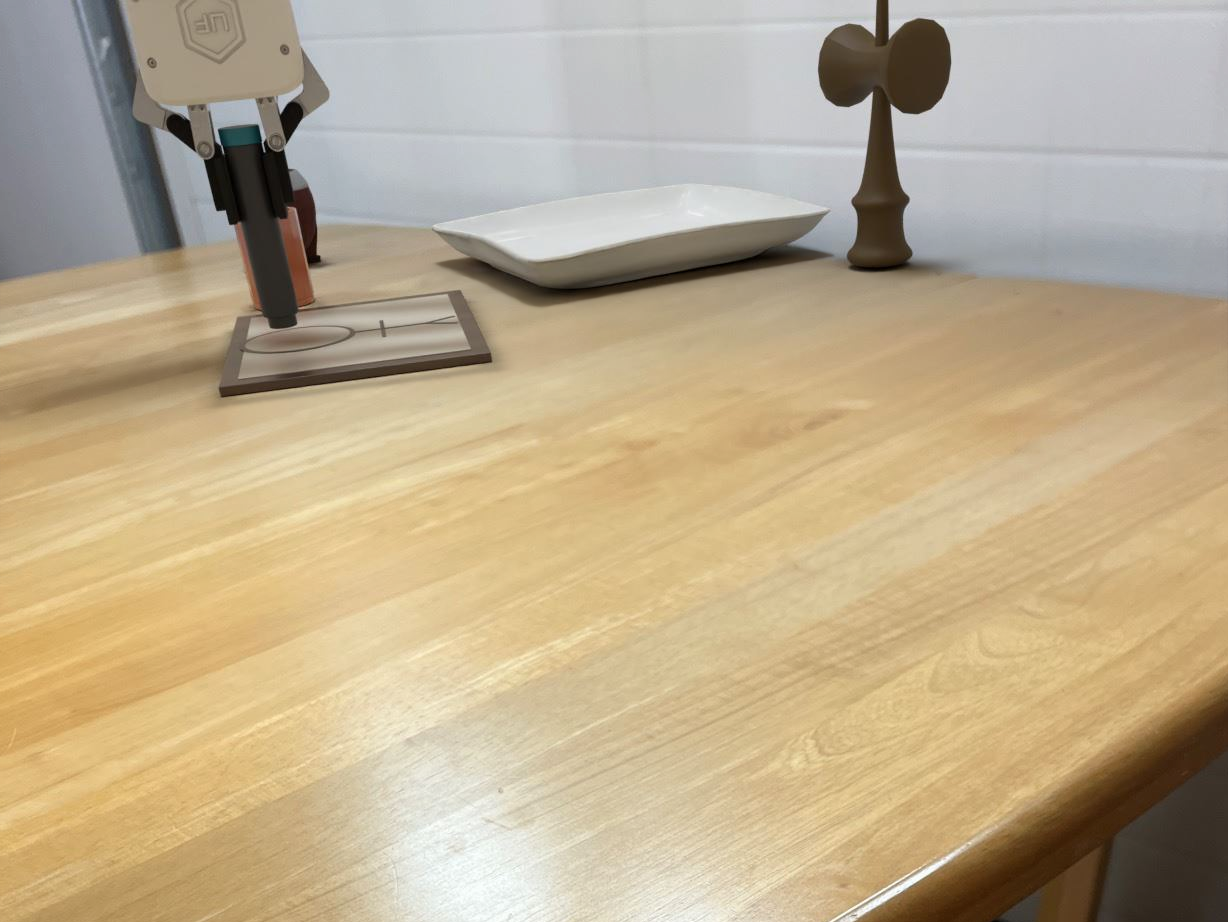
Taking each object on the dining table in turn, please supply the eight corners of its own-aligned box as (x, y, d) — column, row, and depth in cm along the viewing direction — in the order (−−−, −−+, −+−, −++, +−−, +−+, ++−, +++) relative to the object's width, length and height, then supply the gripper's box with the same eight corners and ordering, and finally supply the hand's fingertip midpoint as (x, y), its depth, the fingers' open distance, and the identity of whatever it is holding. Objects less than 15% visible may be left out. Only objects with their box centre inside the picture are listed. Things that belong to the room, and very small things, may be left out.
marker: (279, 331, 95) (232, 129, 88) (257, 328, 96) (209, 129, 89) (310, 323, 97) (266, 123, 89) (287, 320, 98) (243, 124, 91)
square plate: (694, 220, 134) (691, 176, 131) (836, 255, 113) (836, 203, 111) (433, 262, 125) (426, 216, 123) (536, 307, 104) (529, 253, 102)
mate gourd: (263, 276, 126) (220, 90, 118) (242, 266, 132) (200, 88, 123) (339, 263, 129) (303, 81, 120) (315, 254, 135) (279, 79, 126)
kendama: (887, 278, 103) (891, -37, 92) (813, 264, 110) (809, -31, 99) (947, 266, 106) (959, -44, 94) (872, 252, 113) (874, -38, 101)
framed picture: (492, 361, 91) (490, 350, 90) (220, 396, 88) (217, 385, 88) (461, 297, 110) (460, 288, 110) (238, 324, 108) (236, 315, 107)
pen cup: (277, 312, 111) (256, 218, 107) (241, 307, 114) (219, 216, 110) (327, 299, 114) (308, 207, 110) (290, 295, 117) (270, 205, 113)
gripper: (34, -106, 78) (132, 241, 88) (315, -130, 80) (378, 213, 91) (56, -99, 84) (145, 225, 95) (316, -121, 86) (375, 199, 97)
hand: (258, 216), depth 92 cm, fingers closed on marker, 2 cm apart
